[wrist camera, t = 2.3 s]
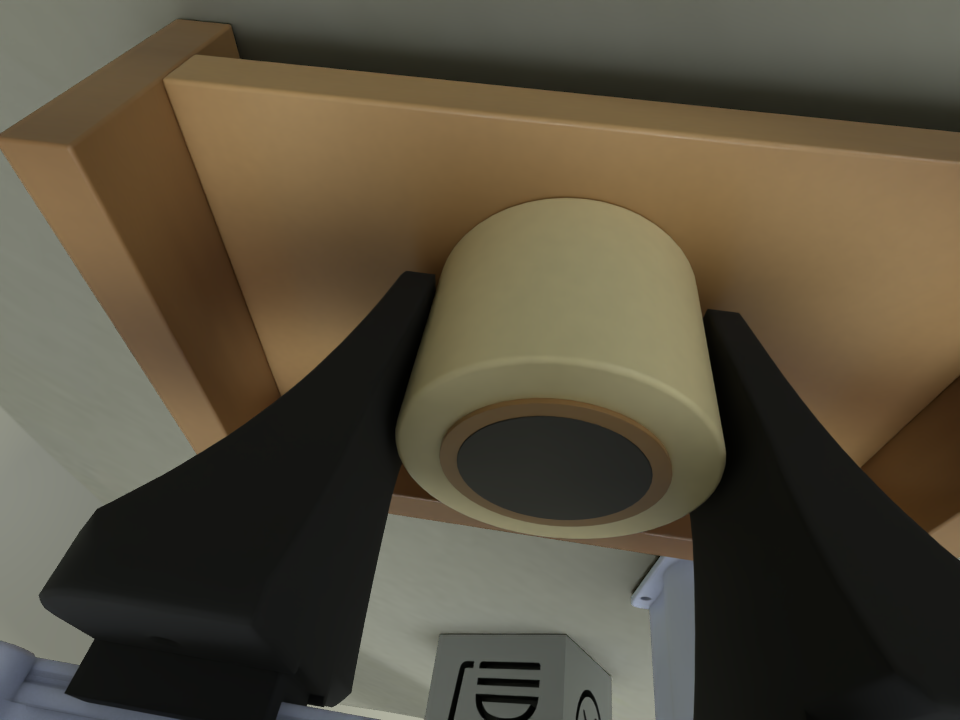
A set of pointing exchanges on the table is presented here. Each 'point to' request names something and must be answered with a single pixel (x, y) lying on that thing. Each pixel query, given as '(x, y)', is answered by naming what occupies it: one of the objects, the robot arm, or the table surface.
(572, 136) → the shelf
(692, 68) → the table surface
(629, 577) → the table surface
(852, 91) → the table surface
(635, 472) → the tape roll
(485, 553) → the table surface
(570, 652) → the icon cube
